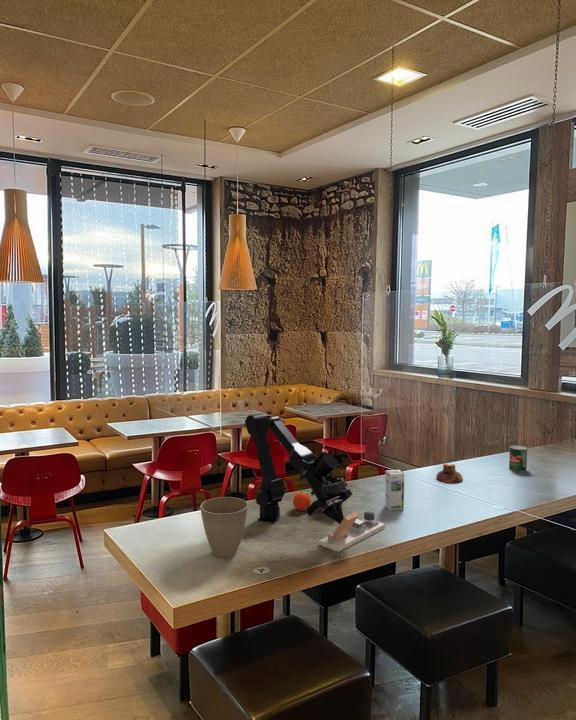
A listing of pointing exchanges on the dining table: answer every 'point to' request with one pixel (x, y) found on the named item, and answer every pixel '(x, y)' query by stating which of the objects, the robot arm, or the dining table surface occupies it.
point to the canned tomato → (518, 458)
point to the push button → (369, 516)
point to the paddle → (345, 526)
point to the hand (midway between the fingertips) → (343, 524)
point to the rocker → (358, 523)
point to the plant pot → (224, 524)
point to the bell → (449, 474)
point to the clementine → (301, 500)
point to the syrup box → (394, 490)
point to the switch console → (352, 535)
